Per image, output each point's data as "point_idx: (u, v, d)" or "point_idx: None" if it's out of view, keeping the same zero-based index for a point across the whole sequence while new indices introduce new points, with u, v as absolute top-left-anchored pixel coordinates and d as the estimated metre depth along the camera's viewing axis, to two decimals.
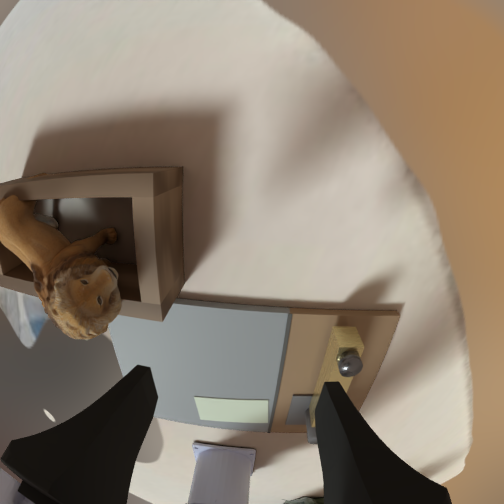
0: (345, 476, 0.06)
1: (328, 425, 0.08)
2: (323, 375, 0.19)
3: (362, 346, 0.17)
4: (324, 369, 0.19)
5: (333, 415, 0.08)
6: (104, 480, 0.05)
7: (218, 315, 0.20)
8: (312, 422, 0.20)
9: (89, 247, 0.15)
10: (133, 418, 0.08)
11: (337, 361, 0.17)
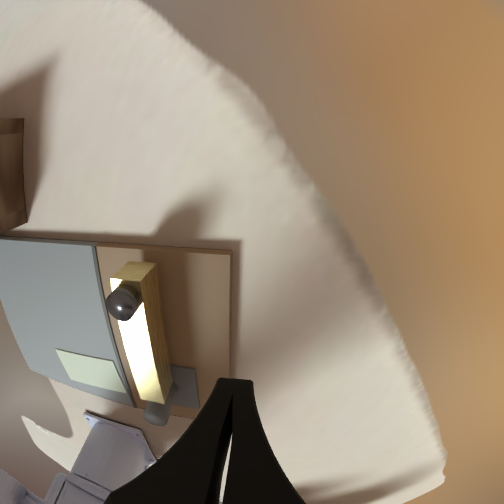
0: None
1: None
2: None
3: (138, 280, 0.13)
4: None
5: None
6: None
7: (44, 250, 0.16)
8: None
9: None
10: (226, 435, 0.08)
11: None
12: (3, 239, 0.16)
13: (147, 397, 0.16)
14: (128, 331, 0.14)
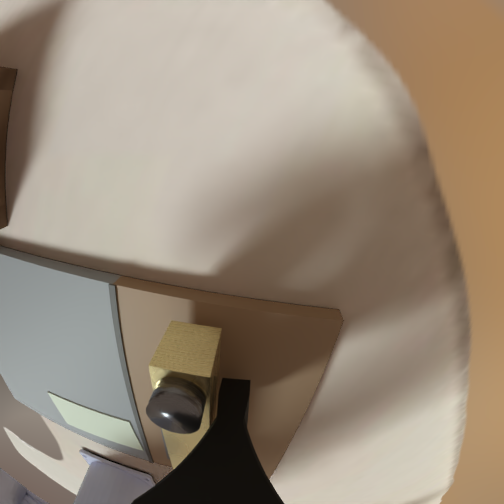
0: None
1: None
2: None
3: (205, 375, 0.07)
4: None
5: None
6: None
7: (31, 274, 0.10)
8: None
9: None
10: None
11: None
12: None
13: None
14: None
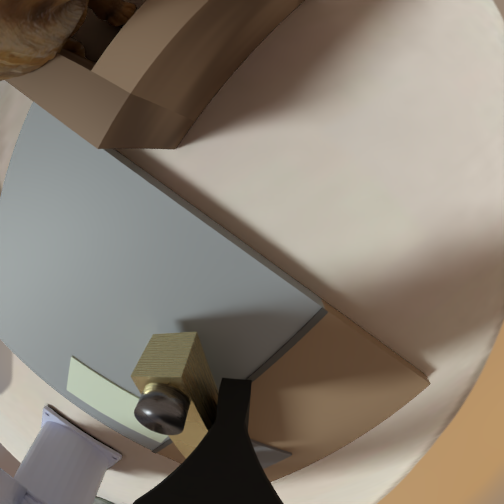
0: None
1: None
2: None
3: (177, 375, 0.07)
4: None
5: None
6: None
7: (199, 241, 0.09)
8: None
9: None
10: None
11: None
12: None
13: None
14: (178, 434, 0.09)
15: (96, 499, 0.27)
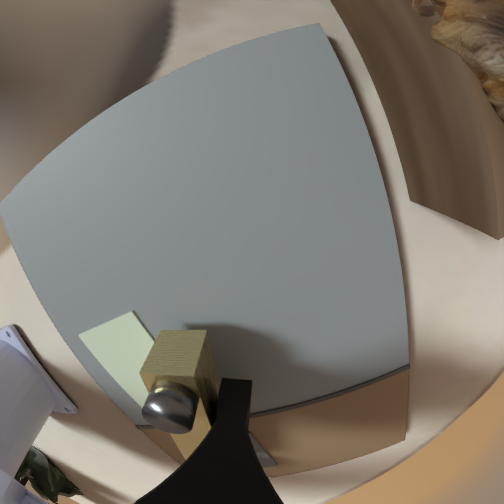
0: None
1: None
2: None
3: (190, 374, 0.07)
4: None
5: None
6: None
7: (389, 285, 0.10)
8: None
9: None
10: None
11: None
12: (362, 119, 0.08)
13: None
14: None
15: None
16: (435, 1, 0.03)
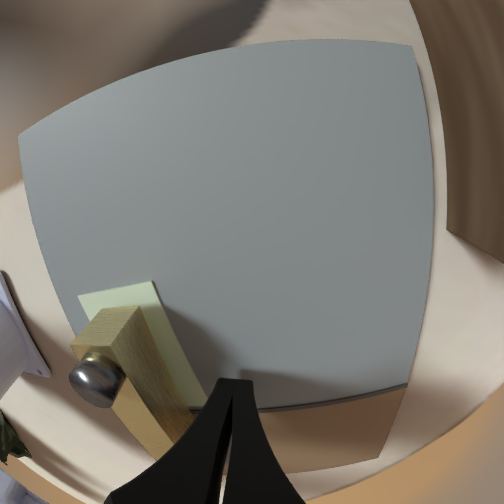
0: None
1: None
2: None
3: (107, 344, 0.07)
4: None
5: None
6: None
7: (413, 303, 0.10)
8: None
9: None
10: (226, 435, 0.08)
11: None
12: (429, 145, 0.08)
13: None
14: (123, 411, 0.08)
15: None
16: None
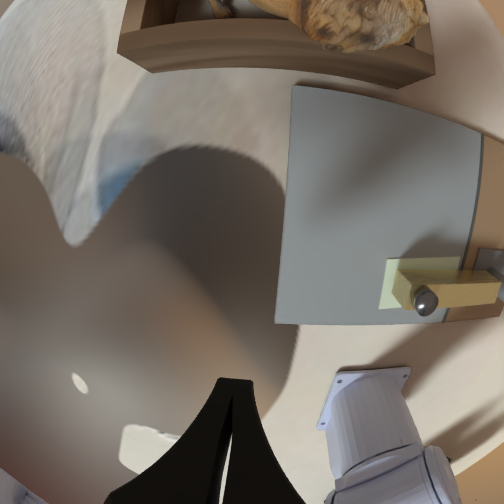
0: None
1: None
2: None
3: (410, 286, 0.15)
4: None
5: None
6: None
7: (433, 123, 0.14)
8: None
9: None
10: (226, 435, 0.08)
11: None
12: (353, 94, 0.14)
13: (494, 296, 0.15)
14: (444, 301, 0.15)
15: None
16: (334, 45, 0.09)
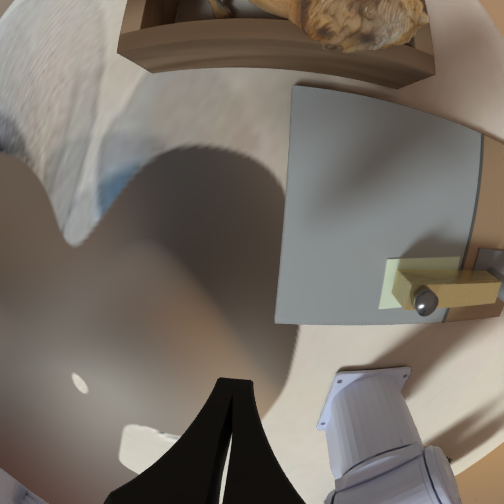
0: None
1: None
2: None
3: (410, 286, 0.15)
4: None
5: None
6: None
7: (434, 123, 0.14)
8: None
9: None
10: (226, 435, 0.08)
11: None
12: (353, 94, 0.14)
13: (494, 296, 0.15)
14: (444, 301, 0.15)
15: None
16: (334, 45, 0.09)
